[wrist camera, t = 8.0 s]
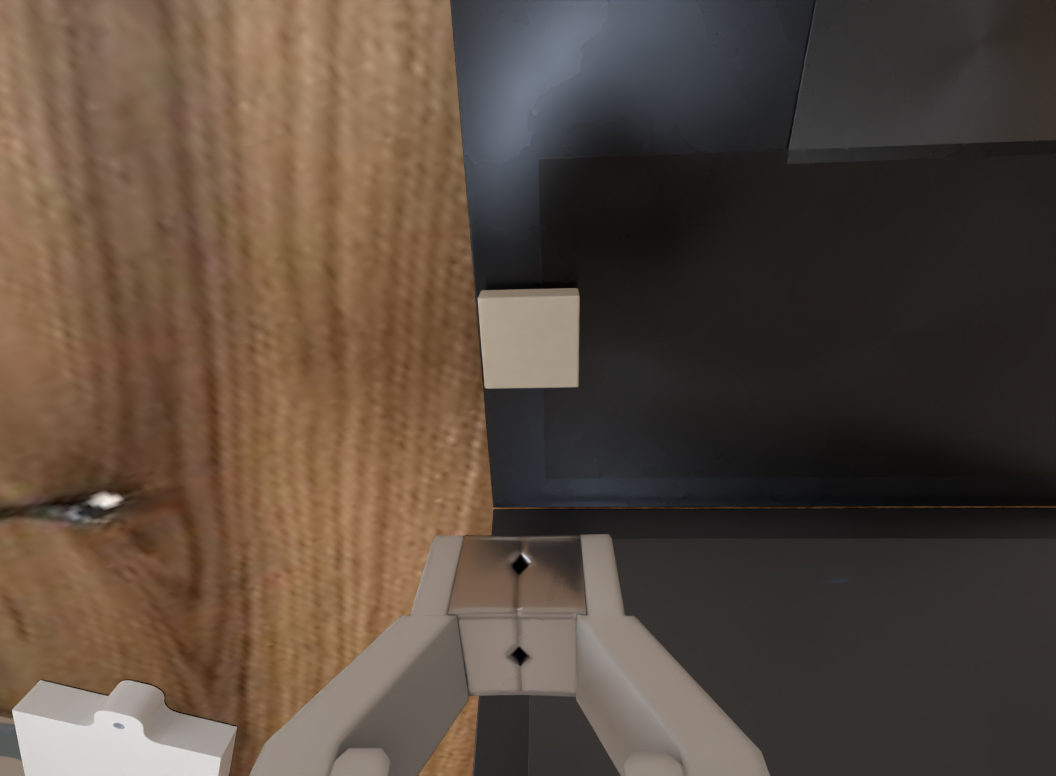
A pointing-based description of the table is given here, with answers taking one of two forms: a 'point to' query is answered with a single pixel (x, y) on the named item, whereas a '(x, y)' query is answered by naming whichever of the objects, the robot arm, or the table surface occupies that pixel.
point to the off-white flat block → (530, 337)
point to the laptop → (771, 247)
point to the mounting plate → (116, 734)
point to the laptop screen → (824, 637)
